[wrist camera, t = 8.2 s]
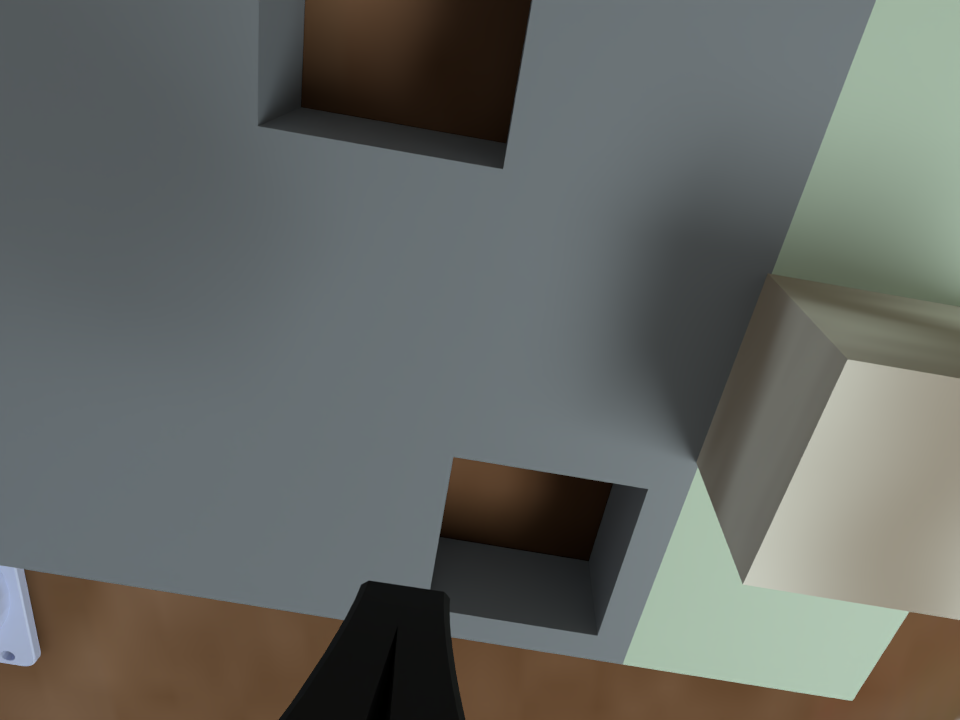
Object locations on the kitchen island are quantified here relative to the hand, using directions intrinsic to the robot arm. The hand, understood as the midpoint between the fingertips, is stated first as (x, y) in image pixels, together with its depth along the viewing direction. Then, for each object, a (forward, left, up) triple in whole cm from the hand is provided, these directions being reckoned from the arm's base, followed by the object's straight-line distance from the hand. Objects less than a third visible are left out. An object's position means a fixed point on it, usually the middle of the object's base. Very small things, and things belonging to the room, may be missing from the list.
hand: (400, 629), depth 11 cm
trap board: (-1, +3, -9) cm, 10 cm away
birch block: (+9, +3, -6) cm, 11 cm away
